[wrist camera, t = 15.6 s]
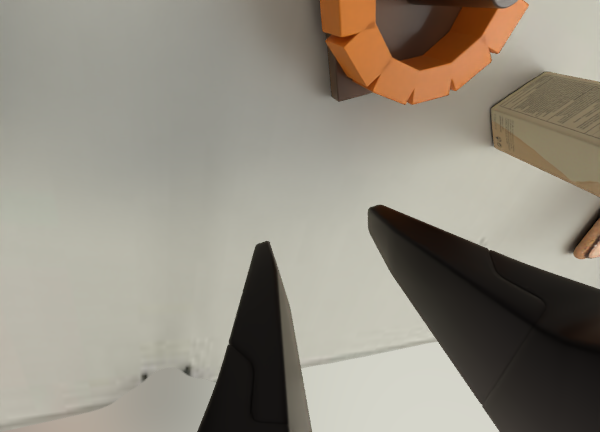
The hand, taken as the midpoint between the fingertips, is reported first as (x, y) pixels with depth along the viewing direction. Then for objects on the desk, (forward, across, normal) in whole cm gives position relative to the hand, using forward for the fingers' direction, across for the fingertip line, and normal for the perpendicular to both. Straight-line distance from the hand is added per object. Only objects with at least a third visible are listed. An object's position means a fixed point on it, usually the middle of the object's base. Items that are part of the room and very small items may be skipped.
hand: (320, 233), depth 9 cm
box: (+12, -21, +5) cm, 25 cm away
